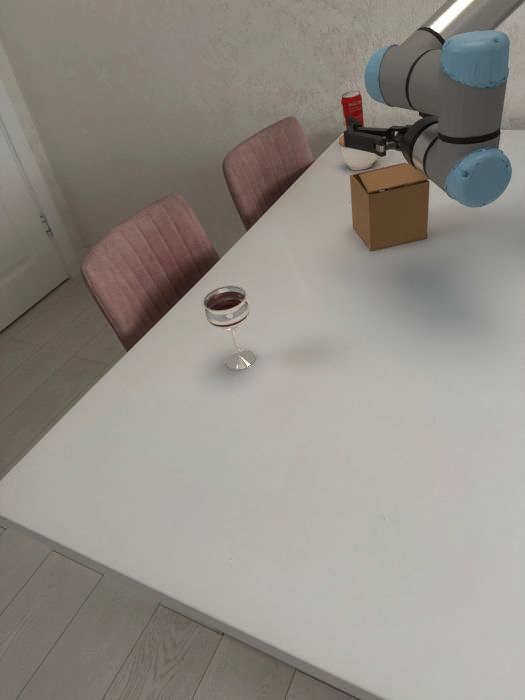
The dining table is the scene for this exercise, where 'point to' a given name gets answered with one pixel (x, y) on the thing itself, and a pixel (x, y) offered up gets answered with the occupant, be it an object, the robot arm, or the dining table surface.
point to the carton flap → (391, 177)
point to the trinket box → (356, 157)
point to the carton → (389, 212)
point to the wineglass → (230, 319)
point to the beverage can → (352, 107)
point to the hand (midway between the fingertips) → (385, 115)
